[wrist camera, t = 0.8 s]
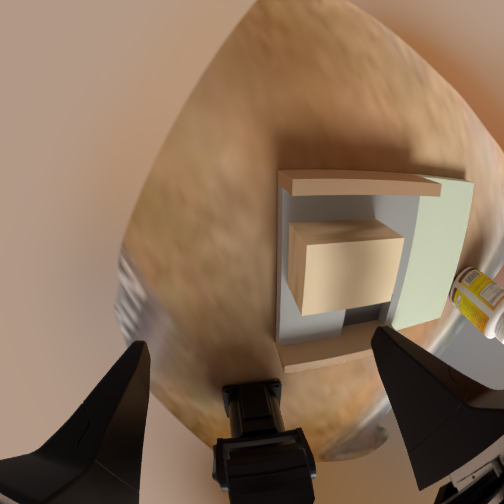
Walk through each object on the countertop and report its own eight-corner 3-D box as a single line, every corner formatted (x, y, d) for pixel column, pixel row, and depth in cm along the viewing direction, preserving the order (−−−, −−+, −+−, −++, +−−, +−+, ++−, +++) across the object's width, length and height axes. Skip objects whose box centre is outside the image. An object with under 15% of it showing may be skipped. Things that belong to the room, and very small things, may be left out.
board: (275, 343, 26) (284, 373, 22) (277, 169, 19) (292, 179, 15) (433, 310, 28) (451, 329, 24) (464, 179, 21) (492, 189, 17)
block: (375, 218, 20) (404, 237, 16) (366, 275, 22) (390, 301, 18) (289, 222, 19) (306, 245, 15) (287, 284, 21) (301, 316, 18)
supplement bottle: (459, 306, 29) (504, 352, 19) (441, 298, 27) (492, 349, 18) (480, 271, 27) (530, 312, 18) (464, 258, 25) (522, 303, 16)
